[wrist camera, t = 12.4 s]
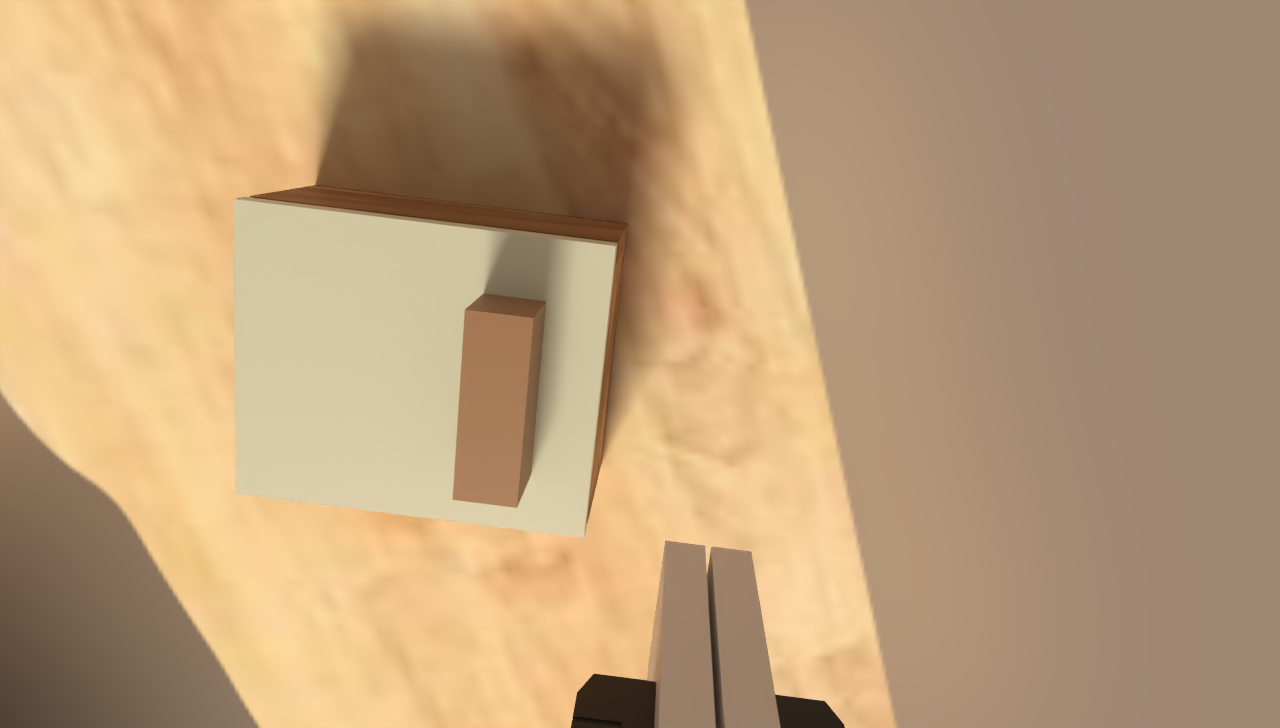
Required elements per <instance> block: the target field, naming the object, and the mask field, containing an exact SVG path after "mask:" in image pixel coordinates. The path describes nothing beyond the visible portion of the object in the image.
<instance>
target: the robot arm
mask: <svg viewBox="0 0 1280 728" xmlns="http://www.w3.org/2000/svg"><path fill="white" fill-rule="evenodd" d="M571 728H845V727H844V724H843V723H842V722H841V720H840V719H839V718H838V717H837V716H836V714H835V713H834V712H833V711H832V709H831V708H830V707H829V706H828V704H827V703H826V702H825V701H819V700H811V699H804V698H796V697H788V696H780V695H775V692H774V686H773V680H772V674H771V668H770V662H769V656H768V650H767V644H766V638H765V632H764V626H763V620H762V614H761V608H760V602H759V596H758V590H757V584H756V578H755V572H754V566H753V560H752V554H751V552H750V551H742V550H734V549H726V548H718V547H711V553H710V559H709V566H708V572H707V571H706V554H705V546H703V545H695V544H687V543H679V542H671V541H665V547H664V554H663V561H662V569H661V576H660V583H659V590H658V598H657V605H656V612H655V620H654V627H653V634H652V641H651V649H650V656H649V663H648V678H647V681H646V680H639V679H631V678H623V677H616V676H608V675H600V674H593V675H592V677H591V678H590V679H589V680H588V681H587V682H586V683H585V684H584V686H583V687H582V688H581V689H580V690H579V691H578V692H577V697H576V703H575V708H574V714H573V720H572V725H571Z"/></svg>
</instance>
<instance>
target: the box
mask: <svg viewBox="0 0 1280 728" xmlns="http://www.w3.org/2000/svg"><path fill="white" fill-rule="evenodd" d="M250 198H259V199H267V200H275V201H283V202H291V203H299V204H307V205H315V206H324V207H332V208H340V209H348V210H356V211H364V212H372V213H380V214H388V215H397V216H405V217H413V218H421V219H429V220H437V221H445V222H453V223H461V224H470V225H478V226H486V227H494V228H502V229H510V230H518V231H526V232H535V233H543V234H551V235H559V236H567V237H575V238H583V239H591V240H599V241H608V242H616V243H618V245H617V254H616V263H615V272H614V281H613V290H612V299H611V308H610V317H609V326H608V335H607V344H606V354H605V363H604V372H603V381H602V390H601V399H600V408H599V417H598V426H597V435H596V444H595V453H594V463H593V472H592V481H591V490H590V499H589V508H588V517H587V523H588V518H589V514H590V510H591V505H592V501H593V497H594V492H595V488H596V484H597V480H598V475H599V471H600V465H601V456H602V448H603V439H604V430H605V421H606V412H607V403H608V394H609V385H610V376H611V368H612V359H613V350H614V341H615V332H616V323H617V314H618V305H619V296H620V288H621V279H622V270H623V261H624V252H625V243H626V234H627V225H628V224H625V223H617V222H609V221H601V220H592V219H584V218H576V217H568V216H560V215H552V214H544V213H535V212H527V211H519V210H511V209H503V208H495V207H487V206H479V205H470V204H462V203H454V202H446V201H438V200H430V199H422V198H413V197H405V196H397V195H389V194H381V193H373V192H365V191H356V190H348V189H340V188H332V187H324V186H316V185H314V186H308V187H302V188H296V189H290V190H284V191H278V192H272V193H266V194H260V195H254V196H250Z"/></svg>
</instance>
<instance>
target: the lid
mask: <svg viewBox="0 0 1280 728" xmlns="http://www.w3.org/2000/svg"><path fill="white" fill-rule="evenodd" d="M233 221H234V345H235V469H236V494H242V495H250V496H258V497H266V498H274V499H281V500H289V501H297V502H305V503H313V504H321V505H329V506H336V507H344V508H352V509H360V510H368V511H376V512H384V513H392V514H399V515H407V516H415V517H423V518H431V519H439V520H447V521H454V522H462V523H470V524H478V525H486V526H494V527H502V528H509V529H517V530H525V531H533V532H541V533H549V534H557V535H565V536H572V537H580V538H584V535H585V531H586V526H587V517H588V508H589V499H590V490H591V481H592V472H593V463H594V453H595V444H596V435H597V426H598V417H599V408H600V399H601V390H602V381H603V372H604V363H605V354H606V344H607V335H608V326H609V317H610V308H611V299H612V290H613V281H614V272H615V263H616V254H617V245H618V243H616V242H608V241H599V240H591V239H583V238H575V237H567V236H559V235H551V234H543V233H535V232H526V231H518V230H510V229H502V228H494V227H486V226H478V225H470V224H461V223H453V222H445V221H437V220H429V219H421V218H413V217H405V216H397V215H388V214H380V213H372V212H364V211H356V210H348V209H340V208H332V207H324V206H315V205H307V204H299V203H291V202H283V201H275V200H267V199H259V198H250V197H242V198H236V199H233Z"/></svg>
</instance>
